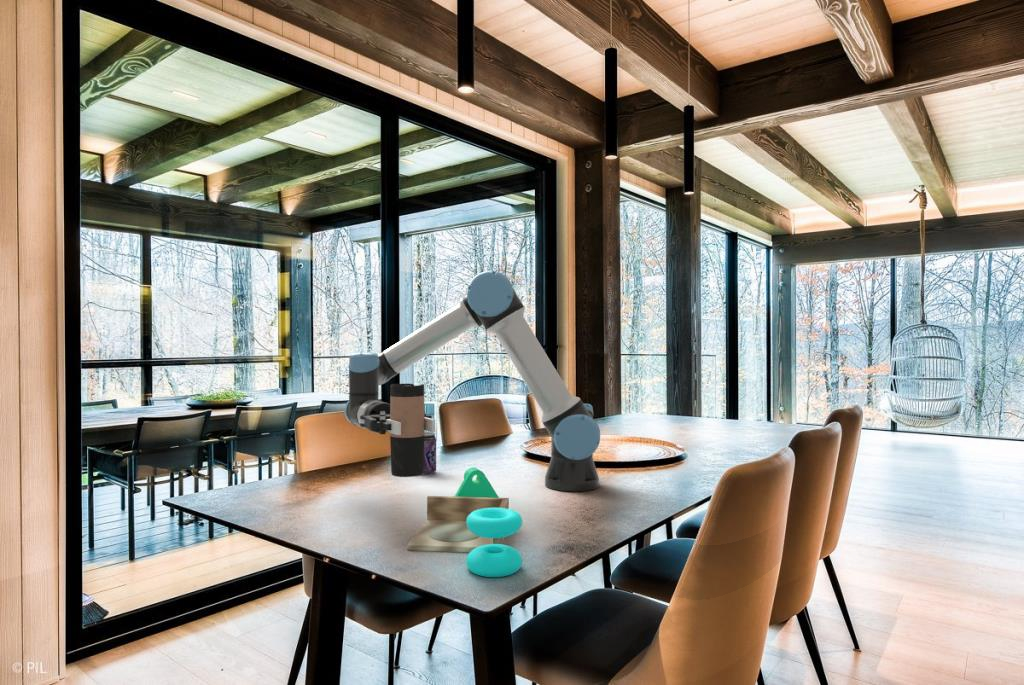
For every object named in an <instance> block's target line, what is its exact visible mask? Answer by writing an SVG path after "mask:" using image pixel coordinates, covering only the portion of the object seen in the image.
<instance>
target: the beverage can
mask: <svg viewBox="0 0 1024 685" xmlns="http://www.w3.org/2000/svg"><path fill="white" fill-rule="evenodd" d="M435 434H436V432H430V431H426V432H425V435H424V436H425V440H424V470H423V474H424V475H431V474H433V473H435V472H436V471H437V438H436V436H435ZM423 474H422V475H423Z"/></svg>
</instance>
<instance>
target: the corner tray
mask: <svg viewBox="0 0 1024 685" xmlns="http://www.w3.org/2000/svg"><path fill="white" fill-rule="evenodd" d="M426 498H427V499H426V521H425V522H424V523H423V524H422V525H421V527H420V528H419V530H418V531H417V532H416V533H415V535H414V536H413V537H412V539H410V541H409V542H408V544H407V545H406V548H407V551H422V552H423V551H425V552H454V553H470V552H471V551H472V550H473V549H475V548H477V547H479V546H482V545H487V544H503V545H504V540H505V538H506V537H503V538H485V537H481V536H478V535H476V534H474V533H472V532H471V531H470V530H469V529H468V527H467V524H466V520H467V517H468V515H469V514H470V513H472V512H473V511H475V510H478V509H483V508H507V509H510V508H509V505H510V501H509V500H510V498H509V497H499V498H486V497H450V496H445V495H444V496H443V495H442V496H438V495H427V497H426Z"/></svg>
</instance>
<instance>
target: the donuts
mask: <svg viewBox="0 0 1024 685" xmlns="http://www.w3.org/2000/svg"><path fill="white" fill-rule="evenodd" d="M466 524H467V527H468V529H469V530H470V531H471V532H472V533H474V534H476V535H478V536H481V537H485V538H503V537H505V538H507V537H510V536H513V535H515V534H516V533H518V532H519V530H520V529H521V528H522V526H523V517H522V516H521V514H520V513H519V512H517V510H516V511H515V510H514V509H511V508H509V509H507V508H483V509H478V510H475V511H473V512H472V513H470V514H469V515H468V517H467V520H466ZM465 564H466V566H467V569H468V570H469V571H470V572H471V573H473V574H475V575H477V576H480V577H486V578H500V577H501V578H502V577H507V576H511V575H514V574H515V573H517V572H519V569H521V567H522V566H523V557H522V555H521V553H520V552H519V551H518V550H517V549H516V548H514V547H512V546H510V545H508V544H507V545H506V544H504V543H503V544H487V545H482V546H479V547H477V548H475V549H473V550H472V551H471V552H468V554H467V557H466V560H465Z"/></svg>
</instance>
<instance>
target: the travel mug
mask: <svg viewBox="0 0 1024 685" xmlns="http://www.w3.org/2000/svg"><path fill="white" fill-rule="evenodd" d="M389 392H390V400H389V401H390V403H389V404H390V419H391V420H394V421H398V422H401V435H395V434H392V433H389V444H390V445H389V446H390V448H389V449H390V469H391V473H390V474H391V475H392V476H393V477H398V478H412V477H413V478H414V477H419V476H421V475H423V470H424V440H425V436H424V435H425V431H426V430H425V421H424V413H425V385H424V384H423V383H422V384H418V385H415V384H414V383H392V384H390V391H389Z"/></svg>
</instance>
